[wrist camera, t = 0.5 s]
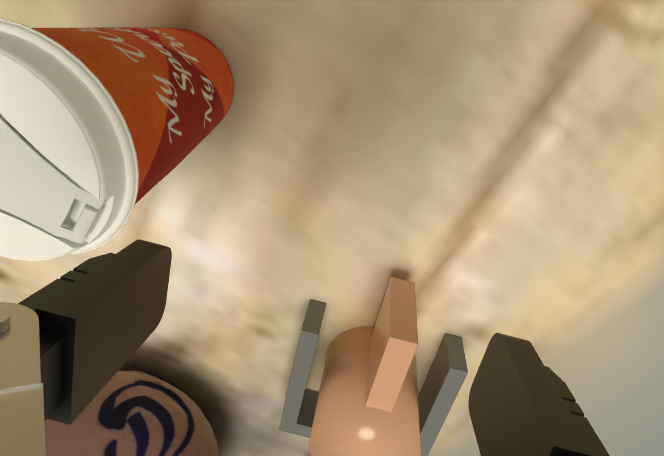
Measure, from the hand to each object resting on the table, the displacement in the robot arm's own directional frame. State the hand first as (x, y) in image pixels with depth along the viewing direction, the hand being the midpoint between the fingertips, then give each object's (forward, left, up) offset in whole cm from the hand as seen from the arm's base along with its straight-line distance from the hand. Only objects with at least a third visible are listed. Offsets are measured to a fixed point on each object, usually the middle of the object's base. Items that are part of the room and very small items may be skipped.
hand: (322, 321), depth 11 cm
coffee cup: (0, -11, -19) cm, 22 cm away
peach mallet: (+15, +5, -18) cm, 24 cm away
